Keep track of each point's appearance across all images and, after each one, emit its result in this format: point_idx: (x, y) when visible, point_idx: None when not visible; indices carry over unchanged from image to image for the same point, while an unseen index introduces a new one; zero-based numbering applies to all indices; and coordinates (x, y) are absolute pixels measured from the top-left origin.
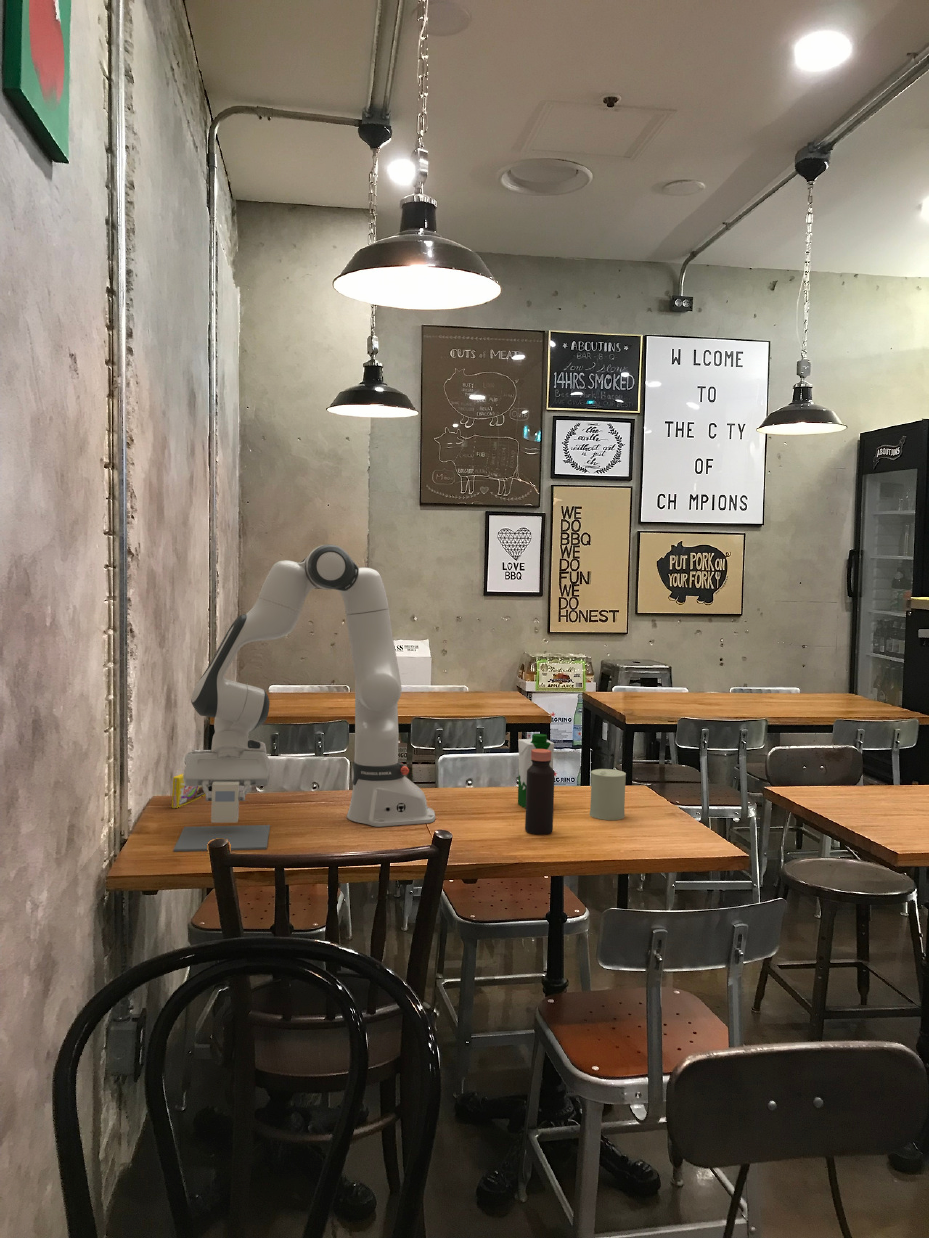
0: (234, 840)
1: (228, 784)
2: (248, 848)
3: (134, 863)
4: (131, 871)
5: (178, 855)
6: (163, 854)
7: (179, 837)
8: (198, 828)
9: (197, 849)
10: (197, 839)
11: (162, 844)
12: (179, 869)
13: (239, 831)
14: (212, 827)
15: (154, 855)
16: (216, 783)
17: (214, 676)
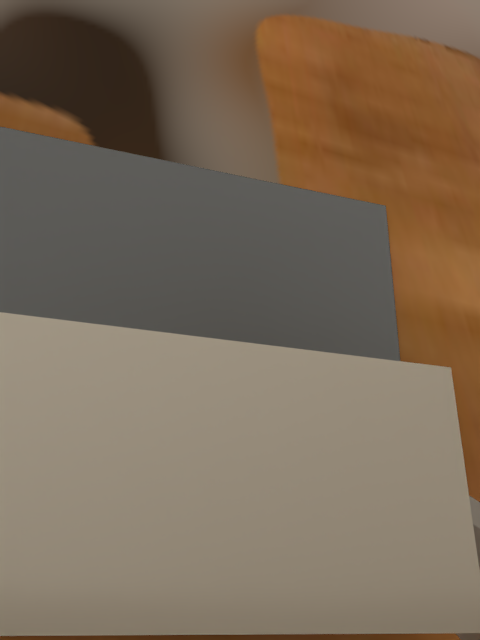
0: (114, 263)
1: (175, 337)
2: (55, 140)
3: (471, 133)
4: (454, 72)
5: (352, 166)
6: (408, 192)
7: None
8: None
9: (289, 187)
10: (308, 324)
11: (447, 322)
12: (322, 39)
13: None
14: None
15: (435, 190)
16: (398, 443)
17: None
